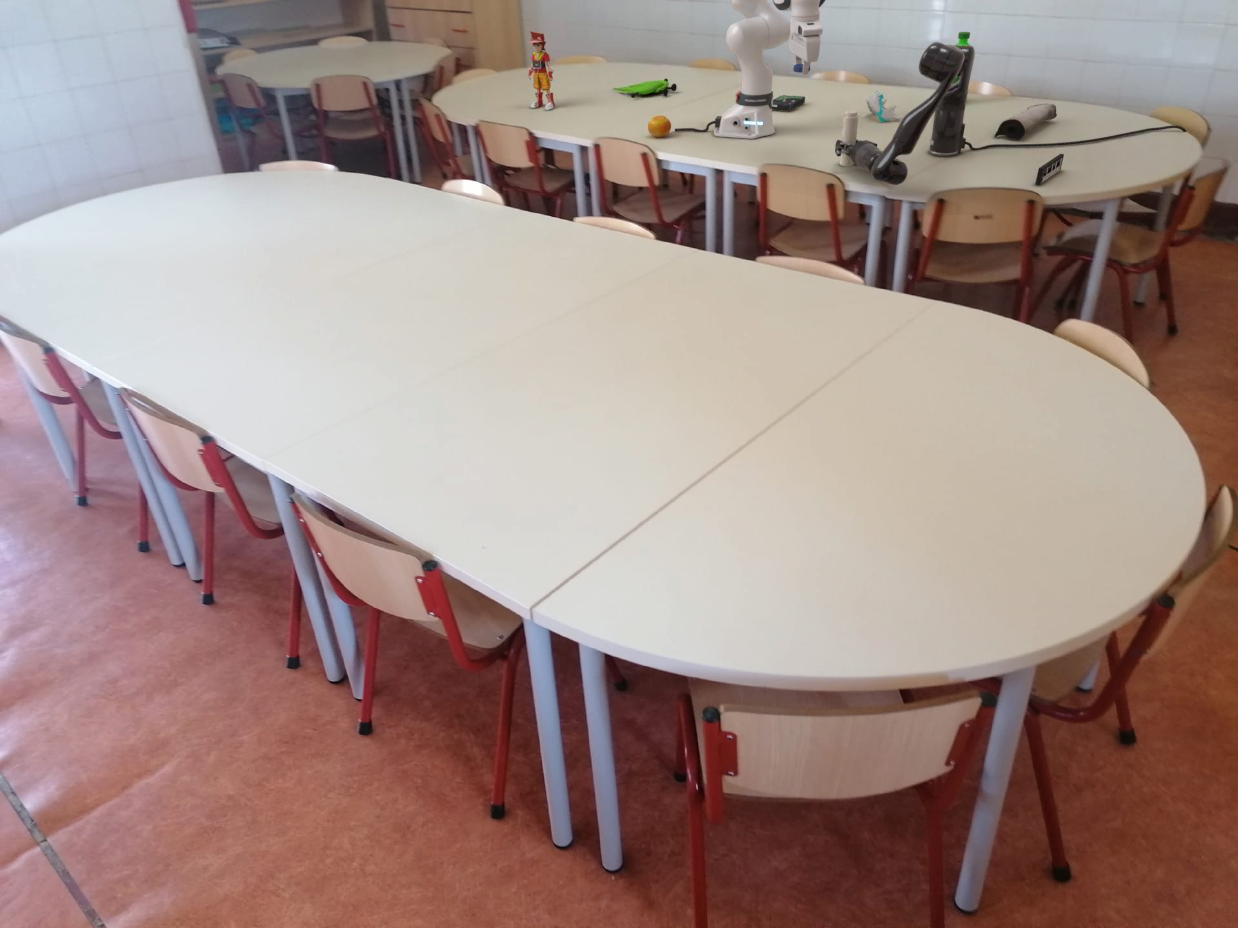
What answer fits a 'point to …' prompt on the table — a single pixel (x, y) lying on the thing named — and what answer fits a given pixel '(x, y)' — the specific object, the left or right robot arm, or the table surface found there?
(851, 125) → the jar
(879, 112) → the anatomical model
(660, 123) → the fruit
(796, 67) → the lid
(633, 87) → the toy
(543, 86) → the toy
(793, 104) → the disk drive
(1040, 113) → the rolled mat
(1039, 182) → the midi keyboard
